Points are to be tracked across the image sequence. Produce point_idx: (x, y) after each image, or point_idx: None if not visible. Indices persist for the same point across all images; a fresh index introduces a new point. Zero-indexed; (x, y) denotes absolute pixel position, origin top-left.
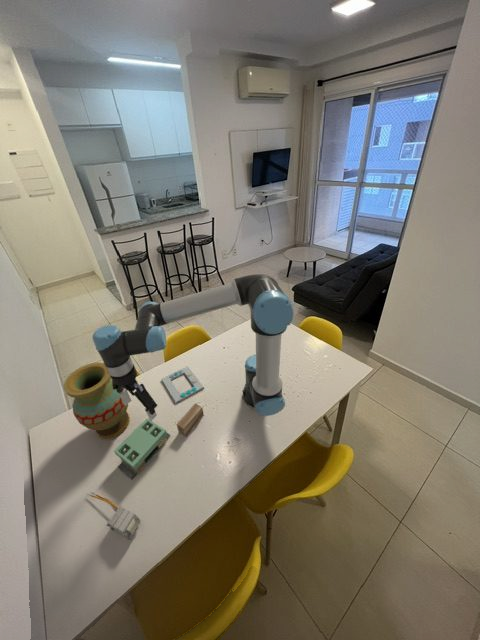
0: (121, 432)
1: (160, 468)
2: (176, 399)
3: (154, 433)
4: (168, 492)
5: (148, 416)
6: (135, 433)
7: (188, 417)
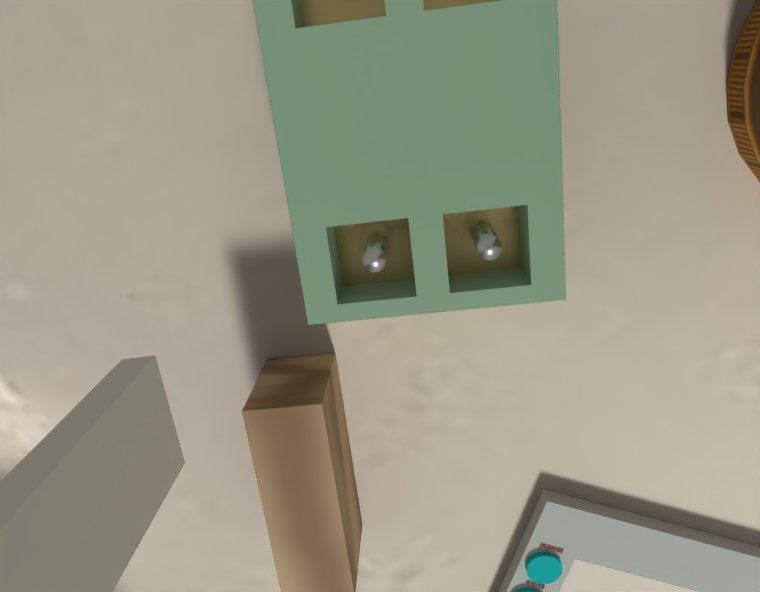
0: (733, 72)
1: (213, 99)
2: (559, 518)
3: (409, 244)
4: (28, 30)
5: (92, 411)
6: (522, 131)
7: (293, 492)
